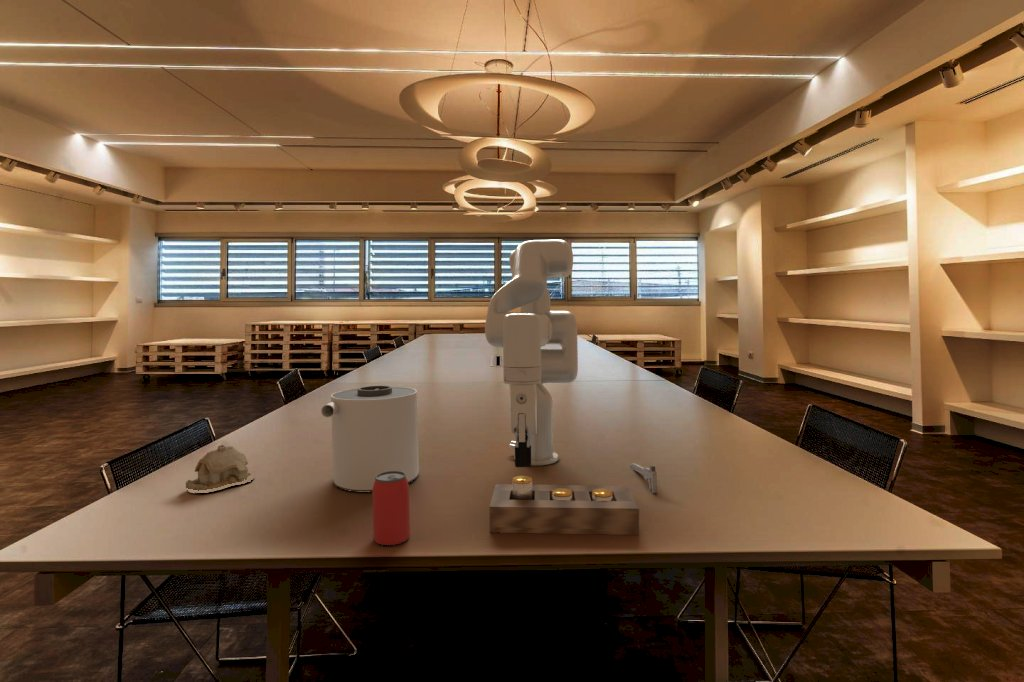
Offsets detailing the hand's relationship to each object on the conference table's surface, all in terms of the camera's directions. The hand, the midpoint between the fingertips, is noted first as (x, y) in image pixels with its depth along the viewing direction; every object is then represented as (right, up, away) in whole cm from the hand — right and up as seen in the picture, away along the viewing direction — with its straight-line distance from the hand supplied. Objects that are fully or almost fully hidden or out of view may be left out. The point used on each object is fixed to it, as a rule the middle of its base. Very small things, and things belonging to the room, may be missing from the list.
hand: (523, 465), depth 95 cm
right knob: (+16, -10, 0) cm, 19 cm away
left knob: (0, -7, 0) cm, 7 cm away
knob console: (+8, -11, 0) cm, 14 cm away
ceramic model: (-75, -11, +23) cm, 79 cm away
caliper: (+30, -10, +24) cm, 40 cm away
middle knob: (+8, -10, 0) cm, 13 cm away
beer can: (-25, -12, -7) cm, 28 cm away
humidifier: (-38, -11, +25) cm, 47 cm away
